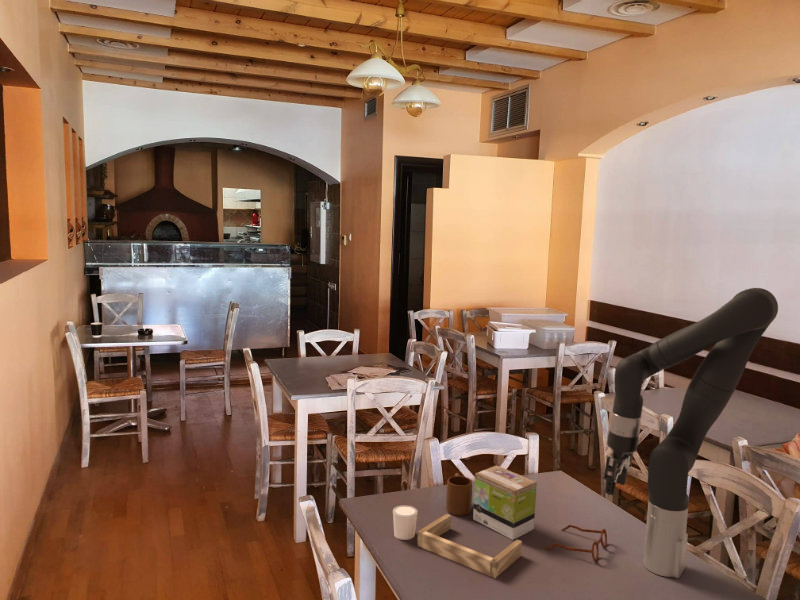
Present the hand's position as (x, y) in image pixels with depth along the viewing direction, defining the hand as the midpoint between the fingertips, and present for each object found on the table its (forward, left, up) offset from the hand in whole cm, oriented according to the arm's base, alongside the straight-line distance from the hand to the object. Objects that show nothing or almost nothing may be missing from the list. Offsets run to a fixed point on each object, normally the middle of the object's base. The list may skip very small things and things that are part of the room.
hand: (615, 488), depth 167 cm
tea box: (+29, +7, -18) cm, 34 cm away
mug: (+45, +6, -17) cm, 48 cm away
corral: (+29, +26, -17) cm, 42 cm away
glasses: (+8, +4, -18) cm, 20 cm away
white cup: (+47, +30, -17) cm, 58 cm away
